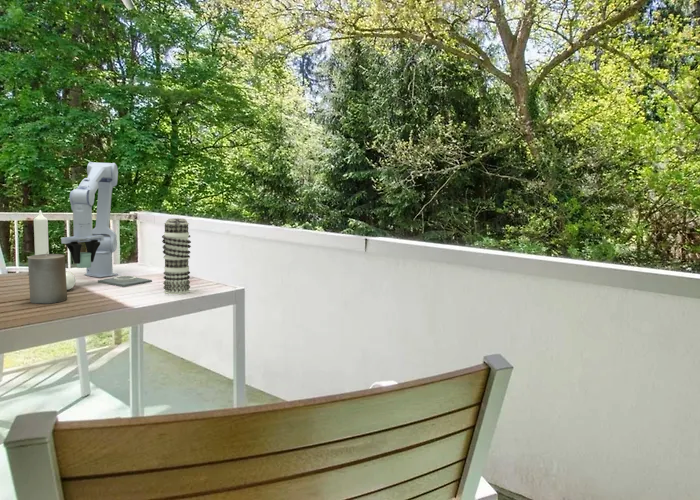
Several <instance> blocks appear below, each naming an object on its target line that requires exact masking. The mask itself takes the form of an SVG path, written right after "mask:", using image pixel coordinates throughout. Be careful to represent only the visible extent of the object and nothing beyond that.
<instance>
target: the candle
mask: <svg viewBox="0 0 700 500" xmlns="http://www.w3.org/2000/svg"><path fill="white" fill-rule="evenodd" d="M48 222H49V221H48V218H47V217H46V216H44V214H43V212H42V210H41V209H40V210H39V211H38V215H37V216H36V217H34V218H33V233H34V234H33V237H34V238H33V239H34V242H33V243H34V255H40V254H46V253H47V252H48V253H47V254H50V251H49V247H50V246H49V226H48V225H49V224H48Z"/></svg>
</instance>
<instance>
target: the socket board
mask: <svg viewBox="0 0 700 500" xmlns="http://www.w3.org/2000/svg"><path fill="white" fill-rule="evenodd" d="M152 282H153V280H152V279H148V278H141V277H137V276H135V275H116V276H114V277H111V278H103V279H98V280H97V283H98V284H106V285H109V286H110V285H112V286H115V285H116V287H121V286H122V288H127V287H132V286H137V285H144V284H147V283H148V284H149V283H152Z"/></svg>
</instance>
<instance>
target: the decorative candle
mask: <svg viewBox="0 0 700 500" xmlns="http://www.w3.org/2000/svg"><path fill="white" fill-rule="evenodd" d="M163 224H164V232H163V233H164V235H161V238H162V240H161V242H162V244H164V245H162V249H163V250H162V253H163V255H164V256H163V260H164V267H163V268H164V272H163V275H164V276H163V279H164V281H163V285H164V286H163V289H164V291H163V293H164V294H167V295H185V294H188V293H190V292H191V290H190V288H191V286H190V284H191V280H189V279H190V278H191V276H190V274H191V272H190V266H189V259H191V255H190V254H191V251H190V250H189V249H190V248H192V246H191V245H190V243H192V241H191V240H190V239H189V238H191V235H190V232H189V225H190V223H189V222H188V221H187V219H185V218H178V217H177V218H172V217H171V218H168V219H167V220H166V221H165V222H164V223H163Z"/></svg>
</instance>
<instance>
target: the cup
mask: <svg viewBox="0 0 700 500" xmlns="http://www.w3.org/2000/svg"><path fill="white" fill-rule="evenodd" d="M89 267H91V253H90V252H87V251H80V264H76V268H78V269H86V268H89Z"/></svg>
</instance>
